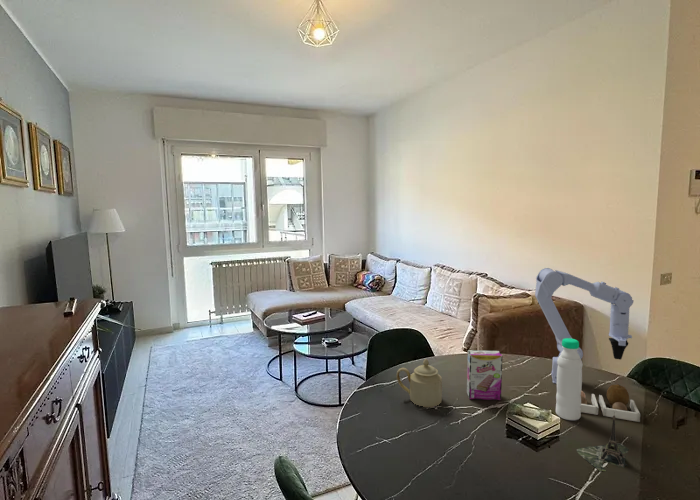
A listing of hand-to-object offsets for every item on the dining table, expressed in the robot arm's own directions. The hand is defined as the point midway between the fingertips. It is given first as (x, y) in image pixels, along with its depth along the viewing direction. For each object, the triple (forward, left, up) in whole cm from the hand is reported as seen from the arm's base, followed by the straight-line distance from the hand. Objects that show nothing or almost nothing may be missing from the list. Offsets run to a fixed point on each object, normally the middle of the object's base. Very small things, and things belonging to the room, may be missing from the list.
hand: (617, 358), depth 148 cm
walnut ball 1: (-14, -24, -10) cm, 30 cm away
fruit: (-3, -20, -10) cm, 23 cm away
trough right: (-3, -23, -10) cm, 25 cm away
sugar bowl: (-64, -40, -10) cm, 76 cm away
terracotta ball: (-14, -20, -10) cm, 26 cm away
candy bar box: (-44, -29, -10) cm, 54 cm away
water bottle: (-18, -32, -10) cm, 38 cm away
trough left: (-14, -23, -10) cm, 29 cm away
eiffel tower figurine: (-9, -52, -11) cm, 53 cm away
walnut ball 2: (-3, -25, -10) cm, 27 cm away
